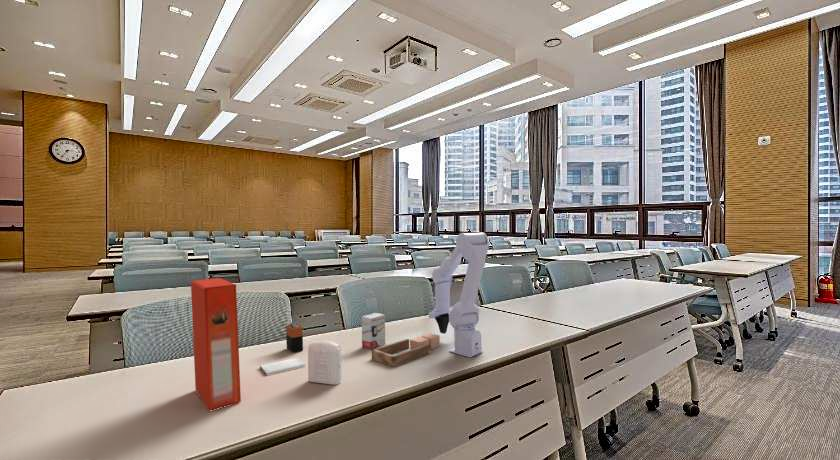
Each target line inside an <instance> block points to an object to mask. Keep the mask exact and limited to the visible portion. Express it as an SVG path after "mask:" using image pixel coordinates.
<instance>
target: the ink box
mask: <svg viewBox="0 0 840 460" xmlns="http://www.w3.org/2000/svg"><path fill="white" fill-rule="evenodd" d="M384 345H386V314H384V313H383V314H382V313H379V312H373V313H370V314H366V315H363V316H362V317H361V347H362V348H365V349H369V350H373V349H376V348H379V347H382V346H384Z"/></svg>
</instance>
